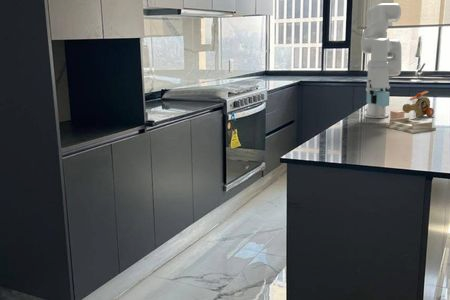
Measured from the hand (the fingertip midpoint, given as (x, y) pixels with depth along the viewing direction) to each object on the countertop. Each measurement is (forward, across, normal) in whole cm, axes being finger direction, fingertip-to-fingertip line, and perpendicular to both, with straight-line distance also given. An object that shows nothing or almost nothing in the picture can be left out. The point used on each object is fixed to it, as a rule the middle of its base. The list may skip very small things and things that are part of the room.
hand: (377, 102), depth 243 cm
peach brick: (+12, -14, -2) cm, 19 cm away
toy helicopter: (+13, -34, -9) cm, 38 cm away
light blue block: (+1, 0, 0) cm, 1 cm away
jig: (+12, -9, +13) cm, 20 cm away
